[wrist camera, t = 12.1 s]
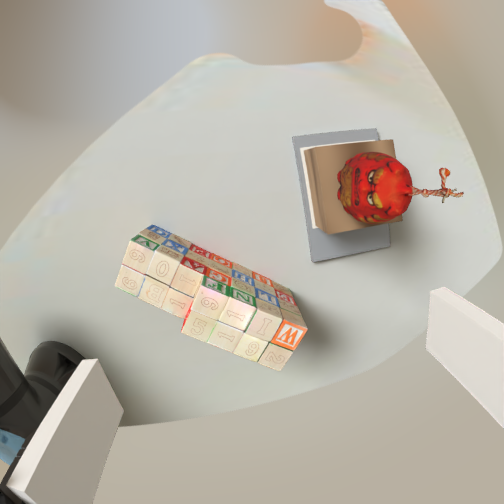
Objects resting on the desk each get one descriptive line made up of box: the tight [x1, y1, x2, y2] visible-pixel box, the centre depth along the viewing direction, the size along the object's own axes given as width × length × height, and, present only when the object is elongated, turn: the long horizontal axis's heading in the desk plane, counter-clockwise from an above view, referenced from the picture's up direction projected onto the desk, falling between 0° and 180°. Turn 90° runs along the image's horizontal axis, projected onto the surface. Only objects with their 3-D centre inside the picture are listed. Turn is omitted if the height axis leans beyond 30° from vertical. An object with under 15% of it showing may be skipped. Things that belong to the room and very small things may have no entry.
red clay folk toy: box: [337, 152, 464, 224], centre depth 26 cm, size 8×7×15 cm
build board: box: [292, 128, 390, 262], centre depth 40 cm, size 12×17×1 cm
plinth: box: [304, 140, 402, 234], centre depth 36 cm, size 10×10×6 cm
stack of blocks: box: [115, 225, 308, 371], centre depth 37 cm, size 21×6×12 cm, turn 63°
